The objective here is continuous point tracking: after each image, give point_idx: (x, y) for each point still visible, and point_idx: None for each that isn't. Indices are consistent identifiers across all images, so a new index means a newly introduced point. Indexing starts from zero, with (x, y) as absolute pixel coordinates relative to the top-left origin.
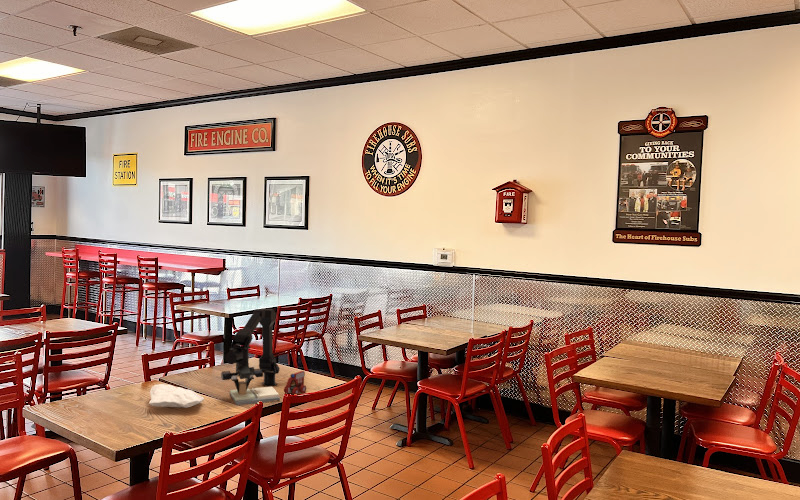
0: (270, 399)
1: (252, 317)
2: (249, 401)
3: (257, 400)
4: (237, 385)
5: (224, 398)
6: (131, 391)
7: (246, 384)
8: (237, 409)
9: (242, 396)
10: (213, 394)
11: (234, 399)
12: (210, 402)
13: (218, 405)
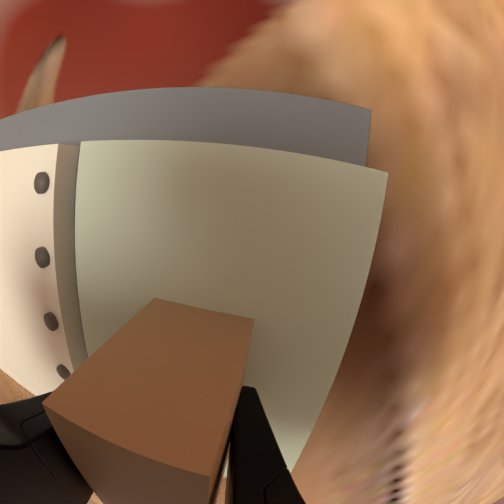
0: (20, 115)
1: None
2: (188, 91)
3: (101, 95)
4: (260, 481)
5: (359, 414)
6: (497, 493)
7: None
8: (379, 4)
9: (241, 207)
10: (362, 485)
11: None
12: (492, 349)
13: (499, 233)
